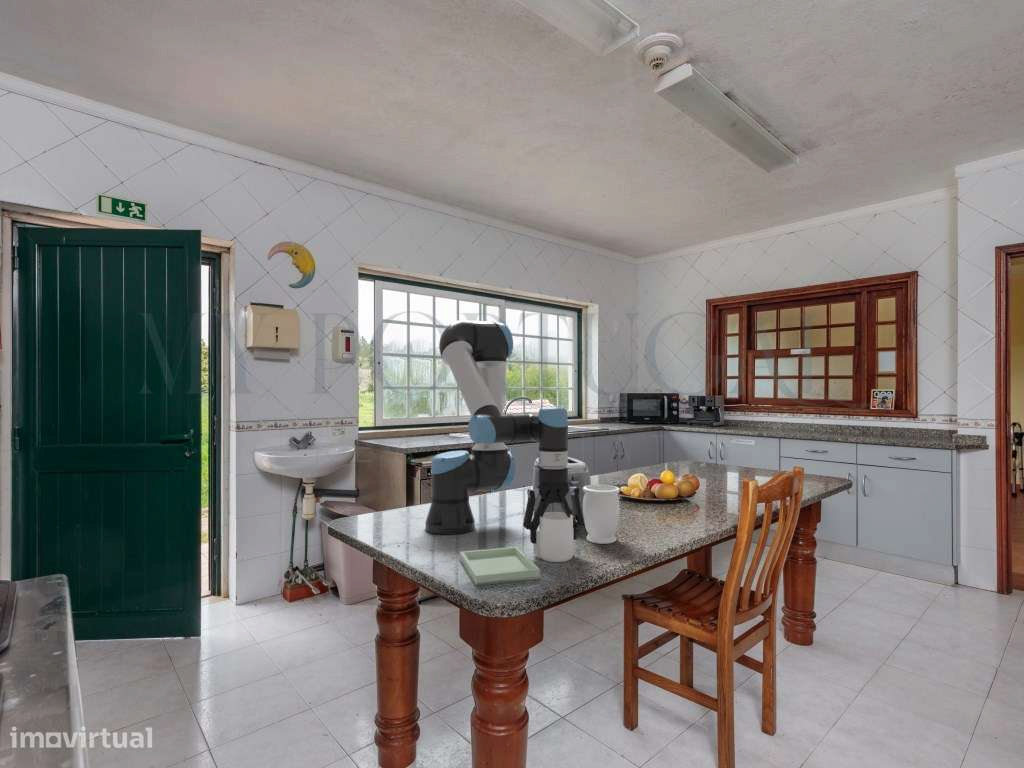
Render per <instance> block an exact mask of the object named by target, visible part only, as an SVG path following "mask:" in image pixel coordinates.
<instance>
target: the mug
mask: <svg viewBox="0 0 1024 768" xmlns="http://www.w3.org/2000/svg"><path fill="white" fill-rule="evenodd" d="M538 530H539V531H540V557H539V558H541V559H542V560H543V561H546V562H549V563H550V562H552V563H563V562H564V563H565V562H568V561H570V560H571V559H572V558H573V555H574V554H573V516H572V515H571V514H570V518H568V516H567V515H566V513H563V512H546V513H544V515H543V517H541V516H540V524H539V526H538Z"/></svg>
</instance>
